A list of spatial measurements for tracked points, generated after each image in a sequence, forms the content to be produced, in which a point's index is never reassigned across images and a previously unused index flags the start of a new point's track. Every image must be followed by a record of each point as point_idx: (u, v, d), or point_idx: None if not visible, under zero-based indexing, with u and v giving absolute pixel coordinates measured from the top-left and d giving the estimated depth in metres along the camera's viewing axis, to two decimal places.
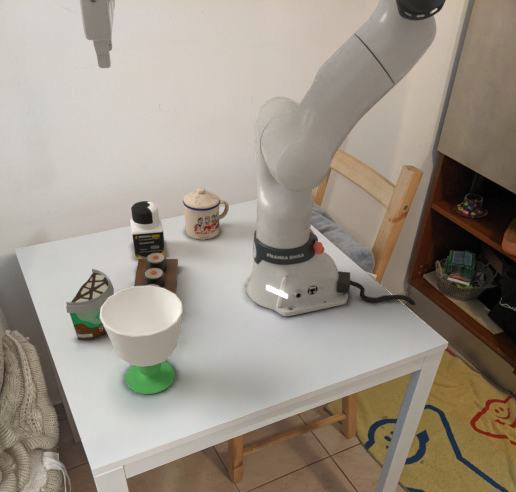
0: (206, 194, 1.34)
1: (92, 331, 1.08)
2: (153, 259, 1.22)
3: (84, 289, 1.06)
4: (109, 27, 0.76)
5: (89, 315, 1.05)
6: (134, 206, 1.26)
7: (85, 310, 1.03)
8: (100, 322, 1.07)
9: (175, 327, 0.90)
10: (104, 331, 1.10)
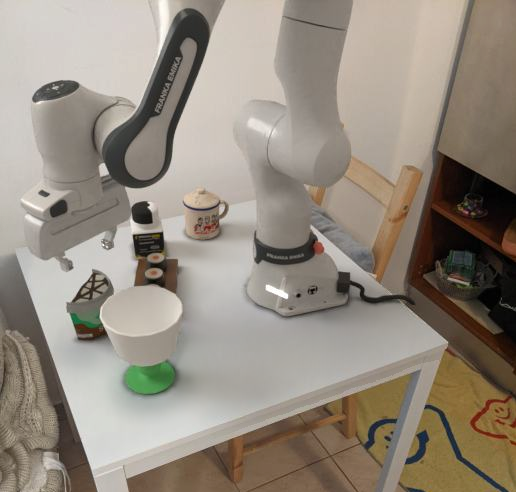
0: (206, 194, 1.34)
1: (92, 331, 1.08)
2: (153, 259, 1.22)
3: (84, 289, 1.06)
4: None
5: (89, 315, 1.05)
6: (134, 206, 1.26)
7: (85, 310, 1.03)
8: (100, 322, 1.07)
9: (175, 327, 0.90)
10: (104, 331, 1.10)
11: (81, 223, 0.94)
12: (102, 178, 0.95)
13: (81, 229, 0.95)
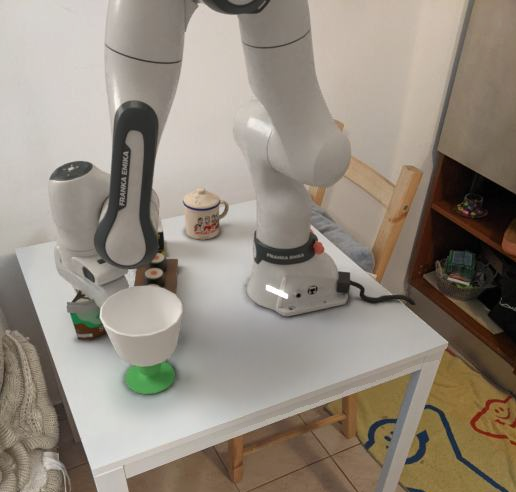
0: (206, 194, 1.34)
1: (92, 331, 1.08)
2: (153, 259, 1.22)
3: None
4: (56, 267, 1.09)
5: (89, 315, 1.05)
6: None
7: (85, 310, 1.03)
8: (100, 322, 1.07)
9: (175, 327, 0.90)
10: (104, 331, 1.10)
11: None
12: None
13: None
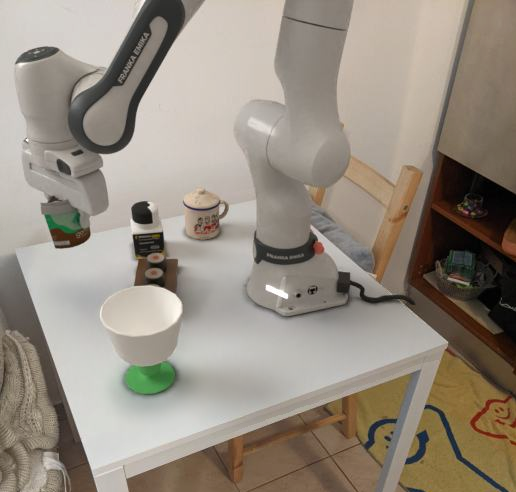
0: (206, 194, 1.34)
1: (69, 237, 1.06)
2: (153, 259, 1.22)
3: None
4: (25, 176, 1.06)
5: (64, 218, 1.03)
6: (134, 206, 1.26)
7: (60, 211, 1.01)
8: (77, 228, 1.05)
9: (175, 327, 0.90)
10: (81, 239, 1.08)
11: None
12: None
13: None
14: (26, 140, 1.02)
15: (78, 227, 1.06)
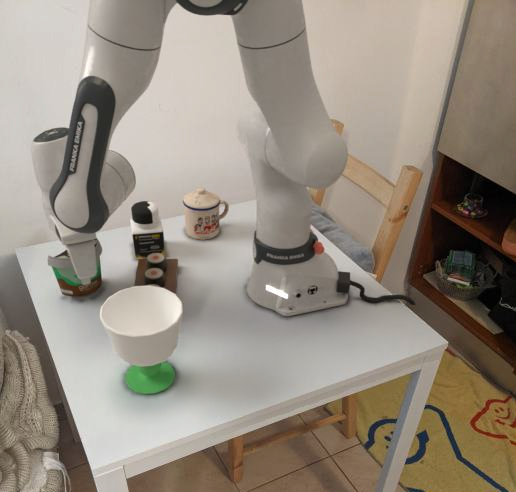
0: (206, 194, 1.34)
1: (72, 289, 1.16)
2: (153, 259, 1.22)
3: None
4: None
5: (67, 272, 1.13)
6: (134, 206, 1.26)
7: (62, 266, 1.11)
8: (79, 282, 1.15)
9: (175, 327, 0.90)
10: (85, 292, 1.17)
11: None
12: None
13: None
14: None
15: None
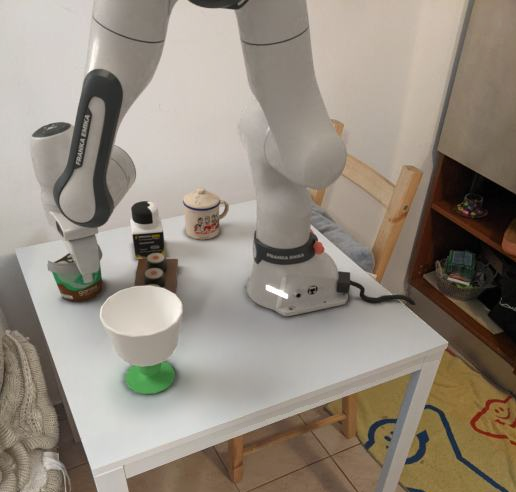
0: (206, 194, 1.34)
1: (72, 293, 1.16)
2: (153, 259, 1.22)
3: None
4: None
5: (67, 278, 1.13)
6: (134, 206, 1.26)
7: (61, 271, 1.11)
8: (79, 287, 1.15)
9: (175, 327, 0.90)
10: (85, 297, 1.17)
11: None
12: None
13: None
14: None
15: (81, 287, 1.15)
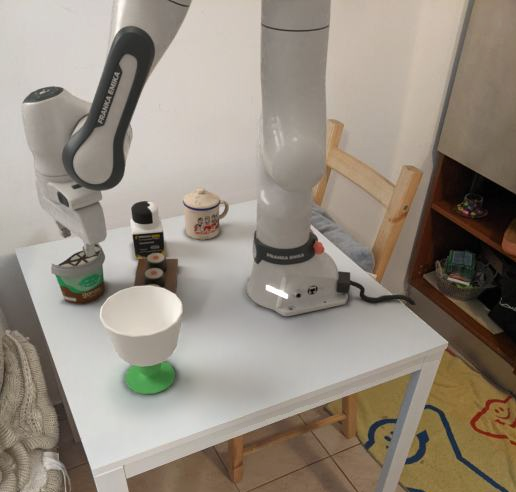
0: (206, 194, 1.34)
1: (76, 296, 1.16)
2: (153, 259, 1.22)
3: (76, 256, 1.14)
4: (39, 201, 1.13)
5: (71, 280, 1.13)
6: (134, 206, 1.26)
7: (66, 274, 1.11)
8: (83, 289, 1.15)
9: (175, 327, 0.90)
10: (88, 299, 1.17)
11: None
12: None
13: None
14: None
15: (85, 289, 1.15)
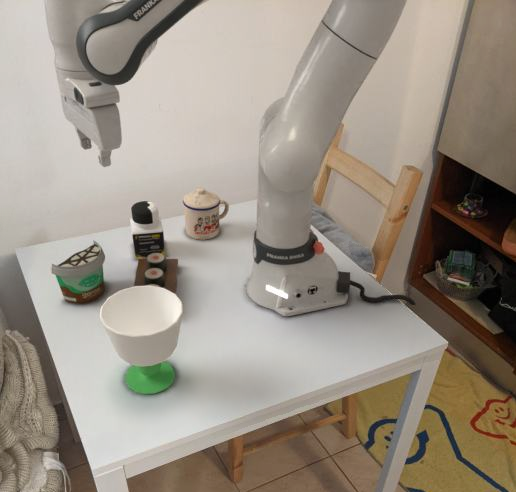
0: (206, 194, 1.34)
1: (76, 296, 1.16)
2: (153, 259, 1.22)
3: (76, 256, 1.14)
4: (63, 109, 1.10)
5: (71, 281, 1.13)
6: (134, 206, 1.26)
7: (66, 275, 1.11)
8: (83, 290, 1.15)
9: (175, 327, 0.90)
10: (88, 299, 1.17)
11: None
12: None
13: None
14: None
15: (85, 289, 1.15)
